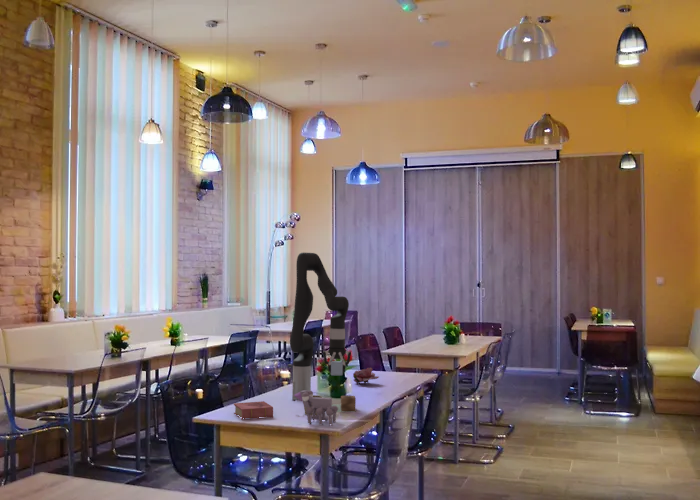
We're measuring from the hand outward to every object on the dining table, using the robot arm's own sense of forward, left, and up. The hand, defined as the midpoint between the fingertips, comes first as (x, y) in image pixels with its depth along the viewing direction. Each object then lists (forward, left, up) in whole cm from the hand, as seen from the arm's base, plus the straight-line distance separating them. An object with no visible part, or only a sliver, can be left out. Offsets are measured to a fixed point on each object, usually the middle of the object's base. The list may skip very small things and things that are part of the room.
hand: (336, 372), depth 345 cm
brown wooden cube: (+5, -10, -16) cm, 20 cm away
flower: (+20, +69, -17) cm, 74 cm away
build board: (+3, -6, -17) cm, 18 cm away
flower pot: (-12, -19, -17) cm, 28 cm away
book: (-38, -17, -18) cm, 46 cm away
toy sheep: (-11, -31, -17) cm, 37 cm away
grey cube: (0, 0, -1) cm, 1 cm away
